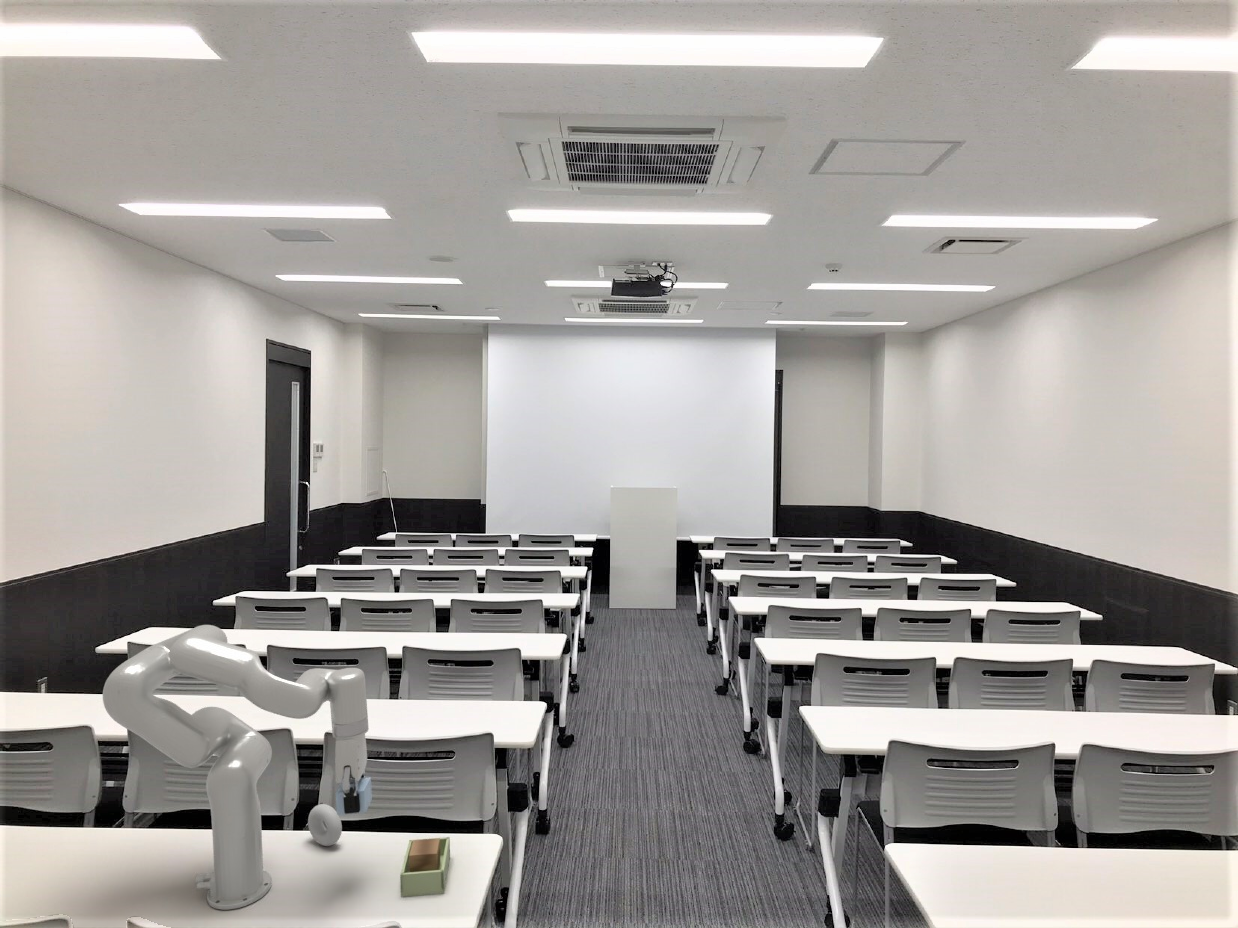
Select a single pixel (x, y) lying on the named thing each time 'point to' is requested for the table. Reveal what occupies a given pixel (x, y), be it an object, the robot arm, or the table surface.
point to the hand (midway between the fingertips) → (355, 803)
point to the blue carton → (362, 790)
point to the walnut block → (424, 855)
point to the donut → (318, 828)
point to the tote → (426, 874)
